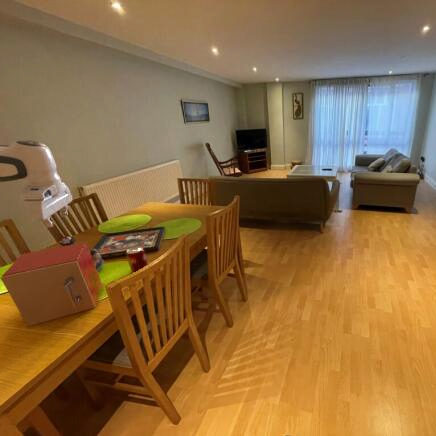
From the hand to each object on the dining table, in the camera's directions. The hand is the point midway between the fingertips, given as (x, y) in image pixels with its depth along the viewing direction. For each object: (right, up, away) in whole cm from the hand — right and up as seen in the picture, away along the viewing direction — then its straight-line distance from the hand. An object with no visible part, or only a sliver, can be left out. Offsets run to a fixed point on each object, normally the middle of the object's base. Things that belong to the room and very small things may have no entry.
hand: (58, 220), depth 94 cm
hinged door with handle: (+6, -37, -5) cm, 38 cm away
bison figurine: (-6, -25, +25) cm, 36 cm away
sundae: (-27, -21, +36) cm, 49 cm away
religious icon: (-6, -14, +51) cm, 53 cm away
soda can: (+17, -25, +25) cm, 39 cm away
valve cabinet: (0, -33, +5) cm, 34 cm away
